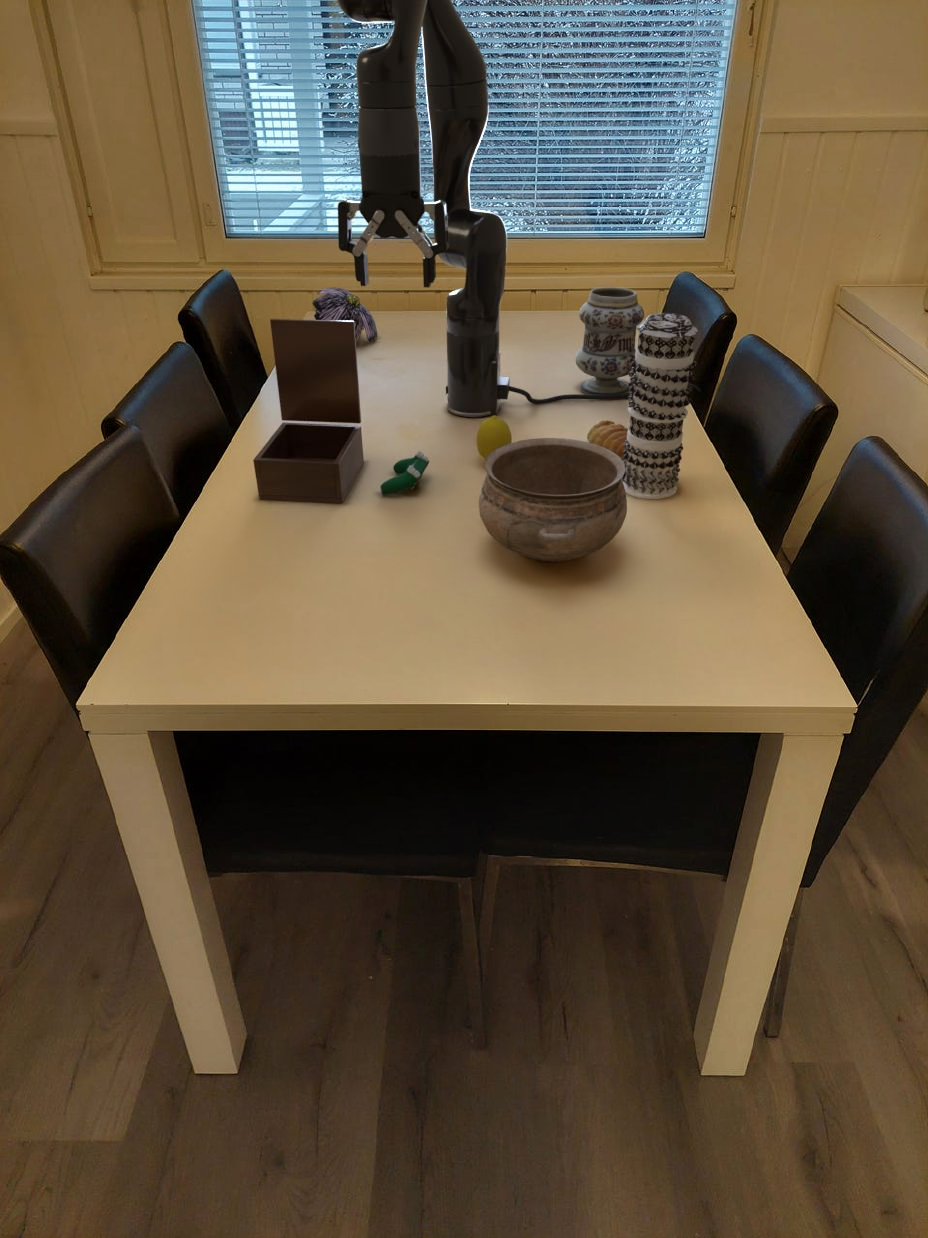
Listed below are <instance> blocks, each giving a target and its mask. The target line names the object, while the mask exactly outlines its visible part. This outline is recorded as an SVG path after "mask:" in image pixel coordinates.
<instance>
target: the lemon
mask: <svg viewBox="0 0 928 1238" xmlns="http://www.w3.org/2000/svg"><path fill="white" fill-rule="evenodd" d="M476 432H477V433H476V439H475V440H476V441H475V442H476V449H477V451H478V454H479V455H480V456H481V457H482V458H483V459H484V460H485V461H486V458H487V457H488V456H489V454H491V453H492V452H493V451H494V450H496V449H498V448H500V447H502V446H504V445H507V444H510V443H513V442H512V441H513V437H512V431H511V427H510V426H509V424H508V423H507V421H506V420H504V419H502V417H498V416H497V415H491V417H488V418H486V419H484V420H483V421H482V422H481V423H480V424H479V427H478V429H477V431H476Z"/></svg>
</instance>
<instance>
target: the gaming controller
mask: <svg viewBox="0 0 928 1238" xmlns="http://www.w3.org/2000/svg"><path fill="white" fill-rule="evenodd" d="M429 463H430V459H429V458H428V456H427V455H425V454H424V452H422V451H420V450H418V451H417V453H416V454H415V455H414V456H413V457H409V458H402V459H400V460H398V461H397V462H396V463H395V464H393V467H392V469H393V472H394V473H395V474H397V475H396V476H393V477H391V478H389V479H387V480H385V481H384V482H383V483H382V484H381V485H380V492H381V494H382V495H393V494H397V493H400V492H405V491H406V490H414V488H415V487H416V484H418V483H419V481H420V480H421V478H422V475H423V474H424V472H425V471H426V469H427V468H428V465H429Z"/></svg>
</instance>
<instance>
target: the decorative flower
mask: <svg viewBox="0 0 928 1238" xmlns="http://www.w3.org/2000/svg"><path fill="white" fill-rule="evenodd" d="M316 294H317V295H321V296H319V297H317V298H315V299H314V300H313V301H312V303H311V305H312V306H313V307H314V308H315V310H314V311H315V313H314V314H313V317H314V320H341V321H354V323H355V337H356V344H357V343H358V341H359V340H360V337H361V336H362V332H363V330H364V331H365V334H366V338H367V342H368V343H369V344H370V343H371V342H372V341H373V342H375V340H377V338H378V329H377V325H376V321H375V319H374V317H373V315H372V313H371V312H370V310H369V309H368V308H367V307H365V306H364V305H363V304H362V303H361V301H360V298H359V297H358V296H357V295H355V294H353V293H352V292H350V291H348V290H347V289H344V288H342V287H327V288H323V289H321V290H319V291H318V292H316Z"/></svg>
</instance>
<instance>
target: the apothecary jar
mask: <svg viewBox="0 0 928 1238" xmlns="http://www.w3.org/2000/svg"><path fill="white" fill-rule="evenodd" d="M582 304H583V305H582V306H581V307H580V309H579V312H578V315H579V317H578V318H579V320H580V321H581V323H583V324H584V333H583V341H582V347H580V349H579V350H578V351H577V352H576V354H575V357H574V360H575V365H576V366H577V368H578V369H579V370H580V371H581V372H582V373H584V374H586V375H588V376H591V378H589V379H587V380H585V381H583V382H582V383H581V384H580V385H579V390H580V392H582V394H622V393H631V392H630V391H629V386H628V384H629V382H627V381H624V380H622V379H620V378H622V377H626V376H629V373H630V372H631V369H632V366H631V365H630V363H631V362H630V358H631V357H632V356H635V354H636V349H637V348H636V338H637V337H636V336H637V327H638V325H640V324H642V323H643V322H644V319H645V311H644V309H643V308H644V307H642V305H641V304H640V303H639V300H638V294H637V292H636V291H635V290H633V289H631V288H626V287H618V286H617V287H615V286H602V287H601V286H600V287H595V288H593V289H591V290H590V291H589V297H588V299H587V301H586V302H584V303H582ZM636 365H637V362H636Z"/></svg>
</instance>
